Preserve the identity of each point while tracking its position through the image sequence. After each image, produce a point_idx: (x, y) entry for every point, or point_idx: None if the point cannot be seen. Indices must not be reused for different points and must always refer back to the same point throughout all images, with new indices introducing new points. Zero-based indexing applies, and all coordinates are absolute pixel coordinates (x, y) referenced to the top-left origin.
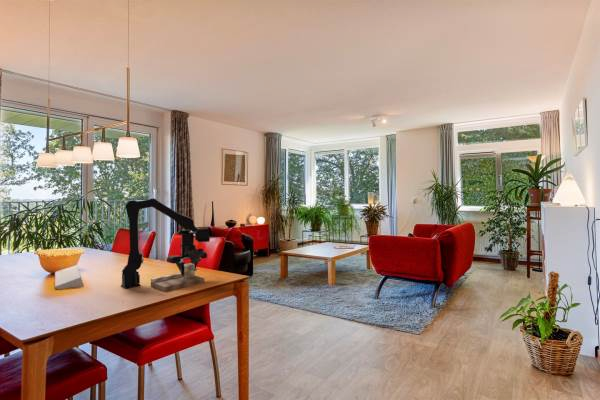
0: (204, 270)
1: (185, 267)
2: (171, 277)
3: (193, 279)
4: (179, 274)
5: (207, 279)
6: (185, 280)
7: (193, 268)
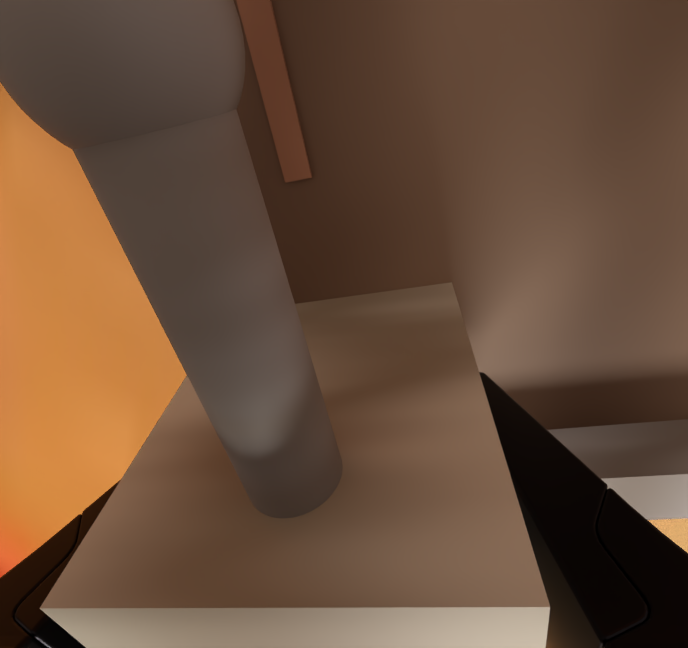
0: None
1: (515, 522)
2: (677, 440)
3: (337, 14)
4: None
5: (20, 197)
6: (574, 51)
7: (195, 173)
